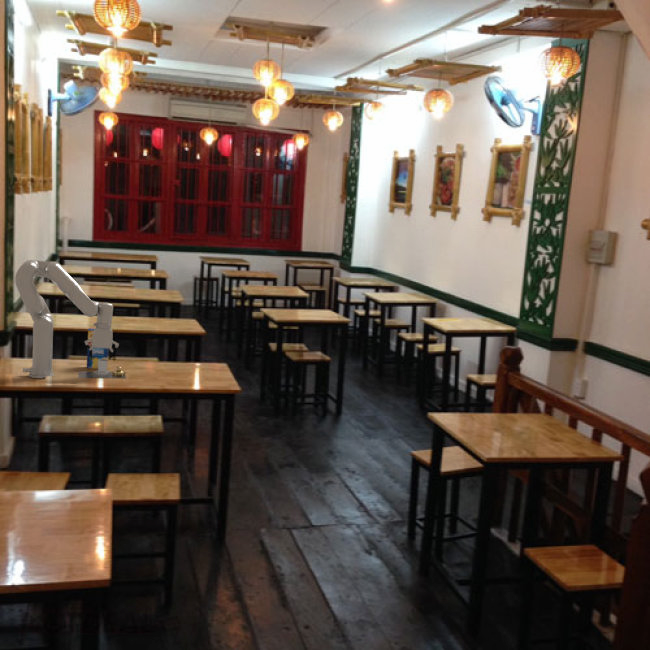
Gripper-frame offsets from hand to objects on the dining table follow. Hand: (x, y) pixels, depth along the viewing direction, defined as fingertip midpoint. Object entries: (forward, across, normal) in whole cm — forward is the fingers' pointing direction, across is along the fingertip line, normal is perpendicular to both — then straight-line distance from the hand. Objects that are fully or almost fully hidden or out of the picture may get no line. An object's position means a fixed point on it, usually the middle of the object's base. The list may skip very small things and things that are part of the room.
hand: (100, 358), depth 406 cm
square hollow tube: (+9, +2, 0) cm, 9 cm away
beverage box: (+10, 0, +21) cm, 23 cm away
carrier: (+10, +2, 0) cm, 10 cm away
